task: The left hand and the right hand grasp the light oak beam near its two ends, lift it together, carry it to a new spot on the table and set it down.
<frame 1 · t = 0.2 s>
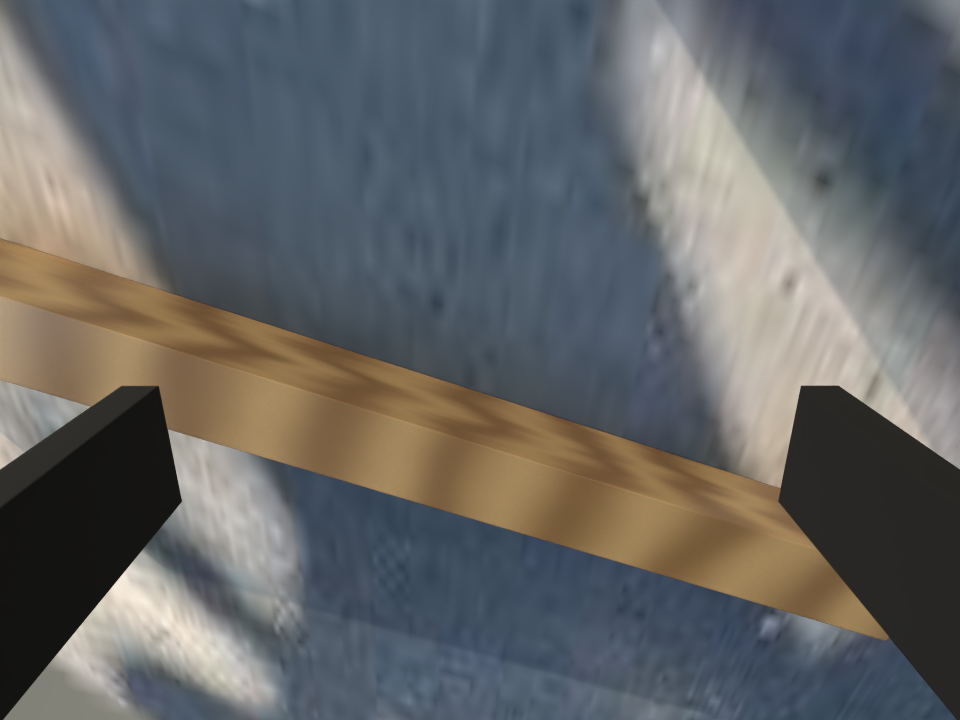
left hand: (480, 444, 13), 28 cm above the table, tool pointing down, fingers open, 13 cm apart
beam: (357, 387, 42), on the table
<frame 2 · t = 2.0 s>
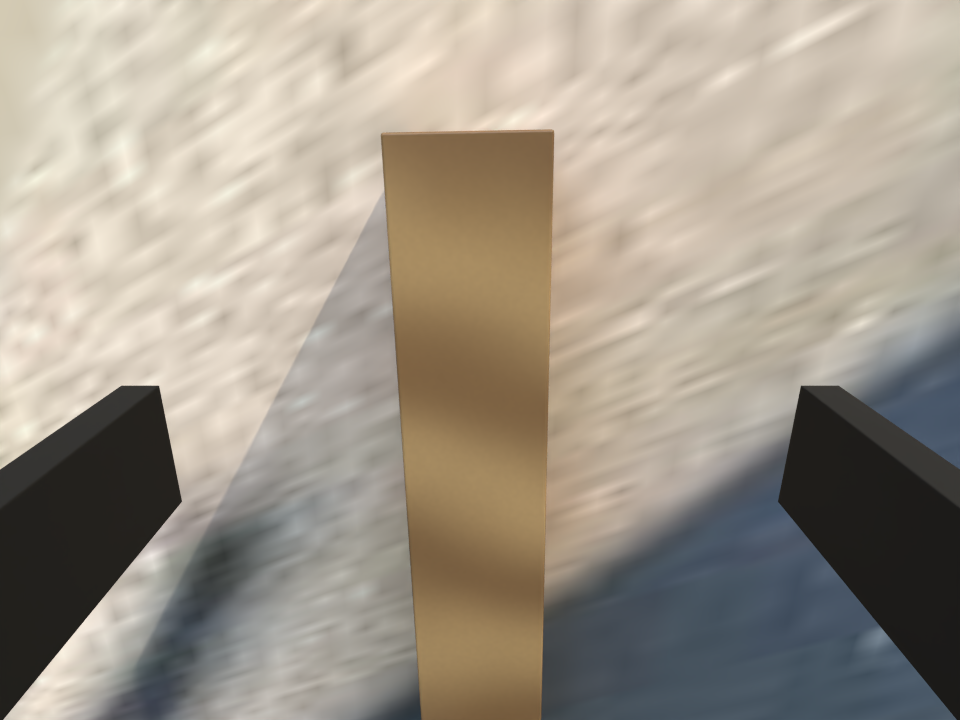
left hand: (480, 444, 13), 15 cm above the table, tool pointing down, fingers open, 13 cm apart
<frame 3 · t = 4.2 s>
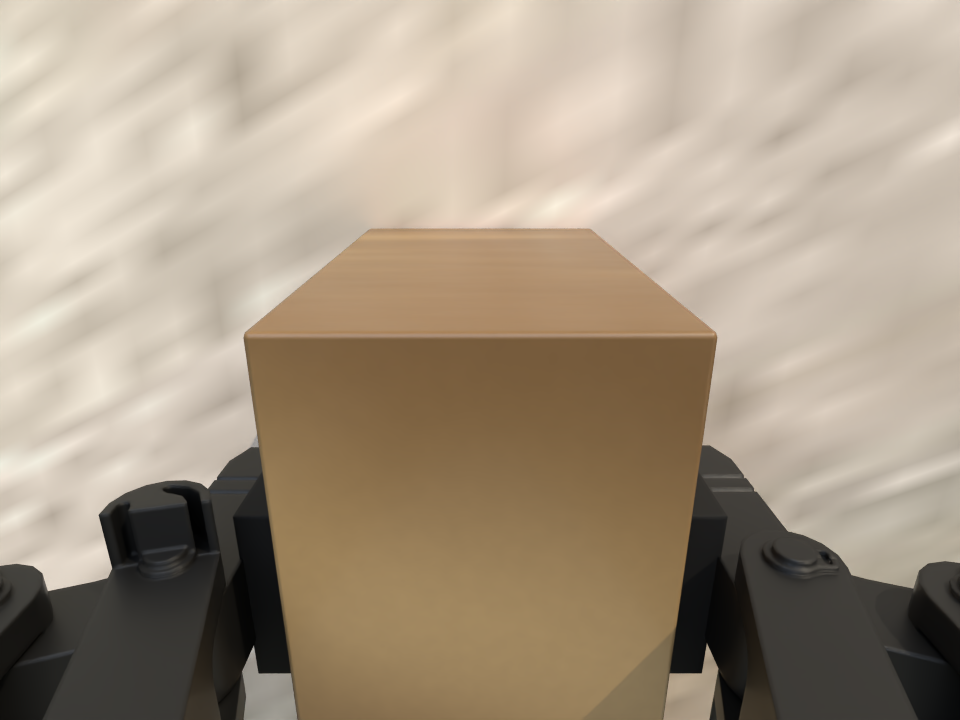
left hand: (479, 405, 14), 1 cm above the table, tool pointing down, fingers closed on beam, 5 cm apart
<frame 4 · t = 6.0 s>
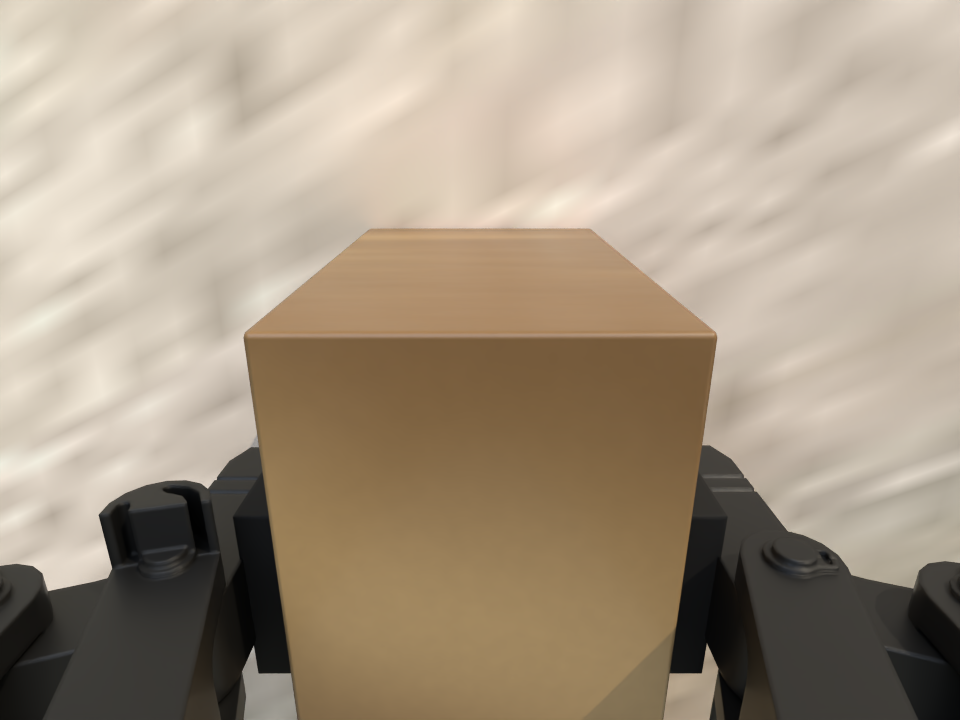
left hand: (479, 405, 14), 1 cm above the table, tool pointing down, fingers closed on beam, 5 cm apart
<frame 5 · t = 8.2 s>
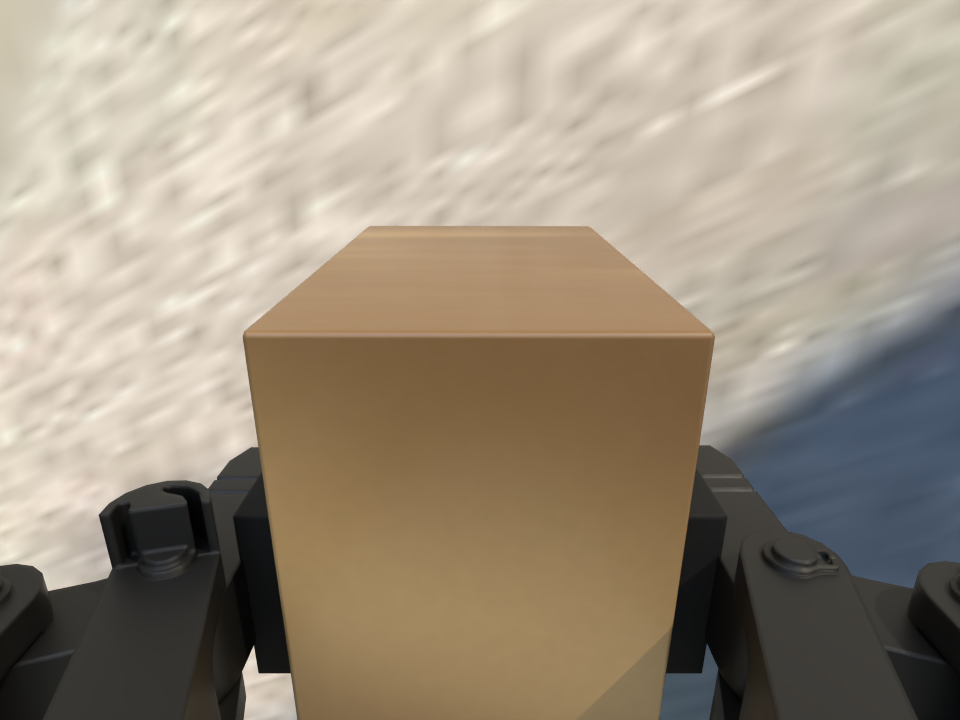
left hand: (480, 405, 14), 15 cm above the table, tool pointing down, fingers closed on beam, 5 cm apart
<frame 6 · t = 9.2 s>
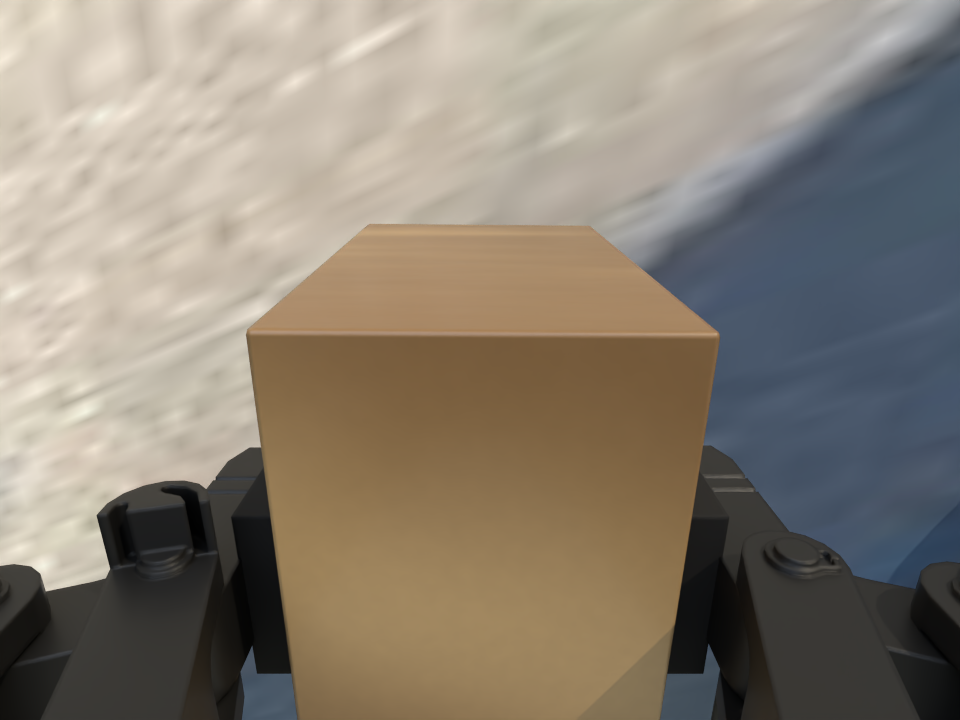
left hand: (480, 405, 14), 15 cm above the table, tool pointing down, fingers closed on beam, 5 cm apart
when the left hand's fingers open (2 cm above the table, at t = 12.4 s): beam drops 1 cm, on the table.
when the right hand's fingers open (4 cm above the table, at t = 12.6 s): beam stays where it is, on the table.
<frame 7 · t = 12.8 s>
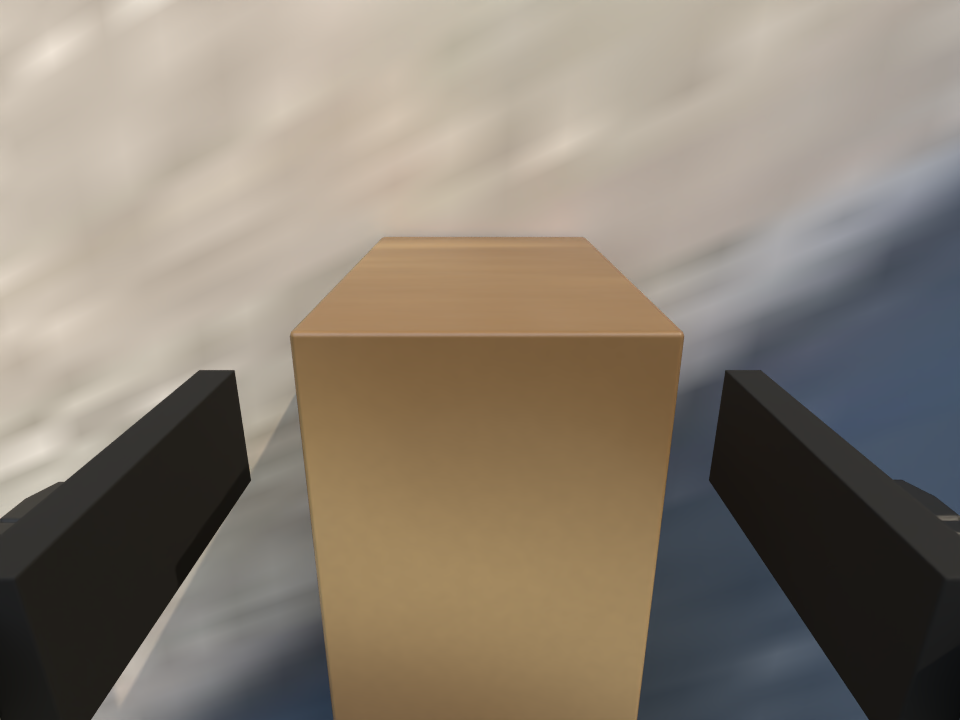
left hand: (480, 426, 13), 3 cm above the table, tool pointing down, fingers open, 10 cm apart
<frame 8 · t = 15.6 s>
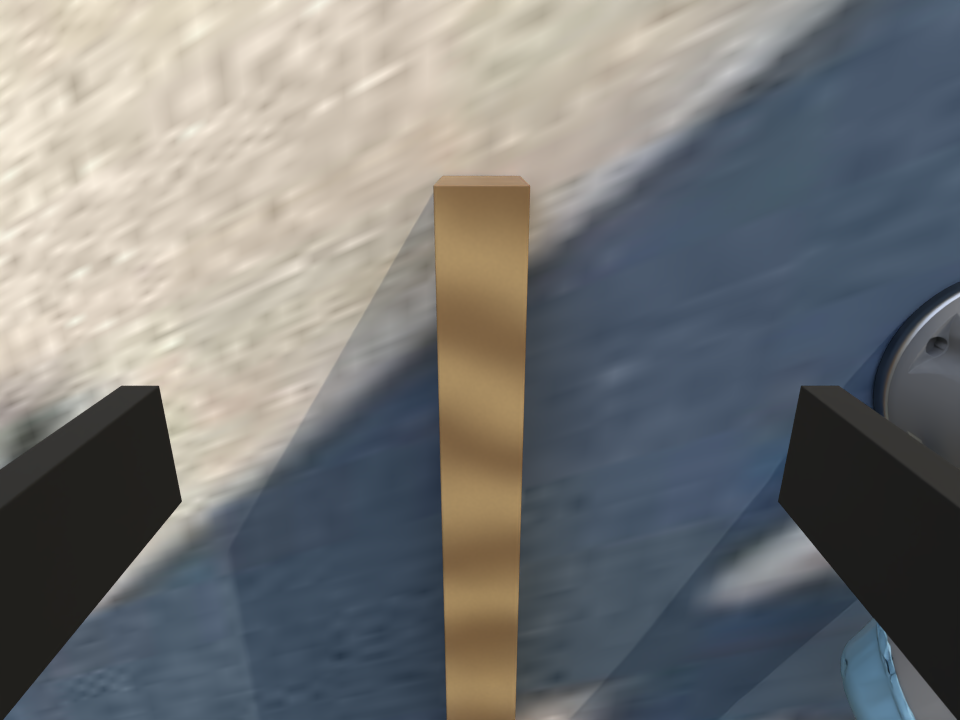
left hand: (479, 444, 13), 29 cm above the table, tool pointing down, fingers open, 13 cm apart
beam: (480, 645, 52), on the table
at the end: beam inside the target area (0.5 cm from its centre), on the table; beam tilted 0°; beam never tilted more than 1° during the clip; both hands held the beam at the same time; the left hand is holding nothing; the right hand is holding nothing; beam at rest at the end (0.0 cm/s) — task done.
